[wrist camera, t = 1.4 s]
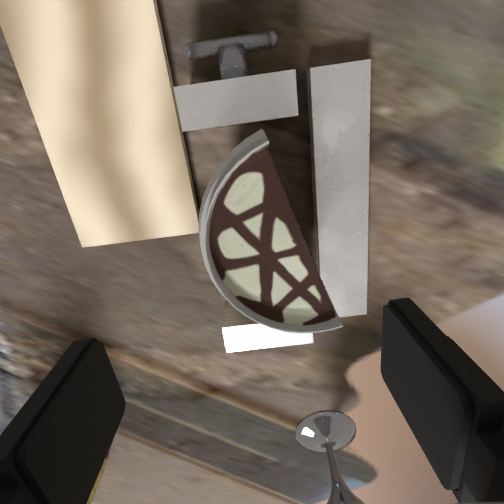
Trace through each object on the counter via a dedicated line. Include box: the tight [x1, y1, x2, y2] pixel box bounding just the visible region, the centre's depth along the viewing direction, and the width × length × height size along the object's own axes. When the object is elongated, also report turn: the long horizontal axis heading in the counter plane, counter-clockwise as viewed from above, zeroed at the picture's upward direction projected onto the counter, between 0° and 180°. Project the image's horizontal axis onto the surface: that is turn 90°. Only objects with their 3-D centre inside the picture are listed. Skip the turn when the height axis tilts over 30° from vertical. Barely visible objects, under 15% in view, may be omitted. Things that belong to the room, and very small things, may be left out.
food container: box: [199, 129, 343, 333], centre depth 21 cm, size 12×6×10 cm, turn 24°
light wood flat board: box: [0, 0, 199, 247], centre depth 22 cm, size 10×18×1 cm, turn 7°
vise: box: [174, 30, 371, 352], centre depth 23 cm, size 12×22×5 cm, turn 7°
